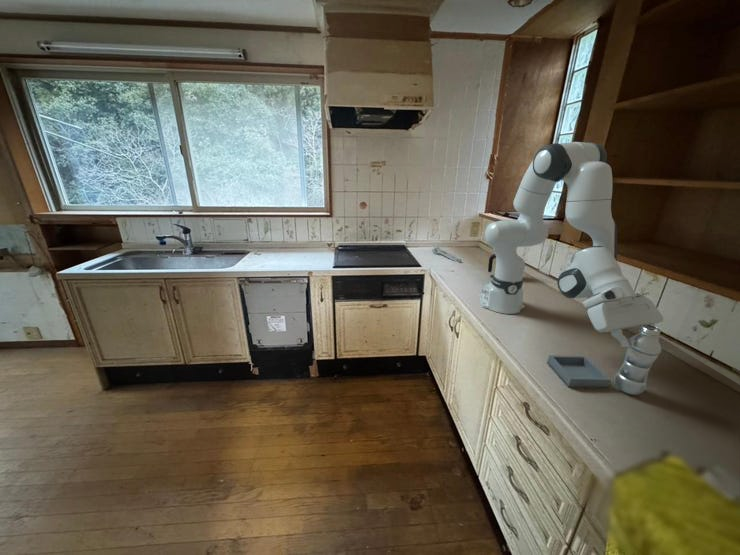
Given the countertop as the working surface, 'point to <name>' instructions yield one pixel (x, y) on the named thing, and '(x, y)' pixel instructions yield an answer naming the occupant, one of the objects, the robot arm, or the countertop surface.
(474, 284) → the countertop surface
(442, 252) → the wrench
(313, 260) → the countertop surface
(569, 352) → the countertop surface
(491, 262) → the milk frother
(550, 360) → the holder
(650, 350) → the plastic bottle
